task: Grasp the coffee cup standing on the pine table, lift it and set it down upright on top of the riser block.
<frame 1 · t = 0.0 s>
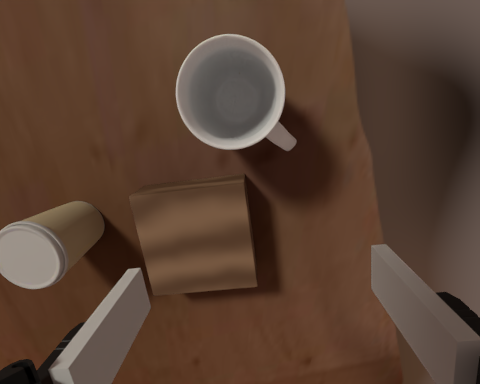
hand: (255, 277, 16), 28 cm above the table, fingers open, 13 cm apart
mug: (243, 105, 40), on the table
coffee cup: (83, 222, 46), on the table
riser: (202, 226, 45), on the table
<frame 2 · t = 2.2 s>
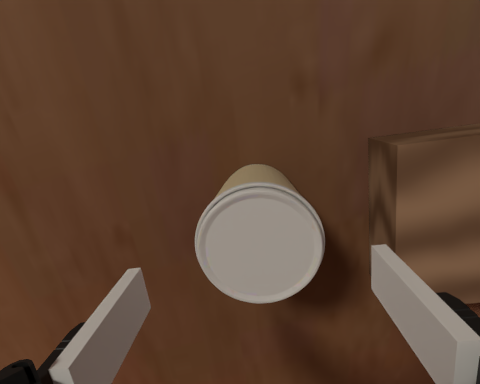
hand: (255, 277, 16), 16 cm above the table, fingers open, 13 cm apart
coffee cup: (257, 197, 31), on the table
riser: (445, 202, 30), on the table
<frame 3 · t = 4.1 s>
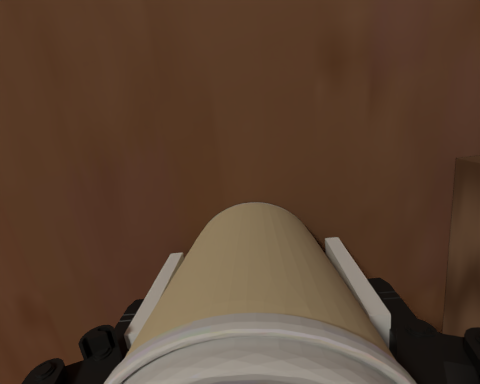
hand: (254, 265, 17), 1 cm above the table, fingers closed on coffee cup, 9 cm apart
coffee cup: (255, 256, 18), on the table, touching gripper
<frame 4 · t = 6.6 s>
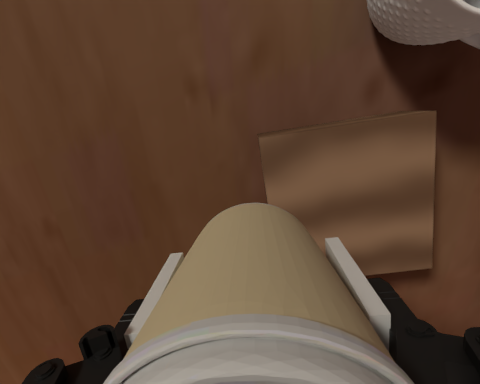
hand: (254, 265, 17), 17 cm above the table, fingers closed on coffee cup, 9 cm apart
mug: (410, 7, 28), on the table
coffee cup: (254, 256, 18), point 16 cm above the table, touching gripper
riser: (333, 190, 33), on the table
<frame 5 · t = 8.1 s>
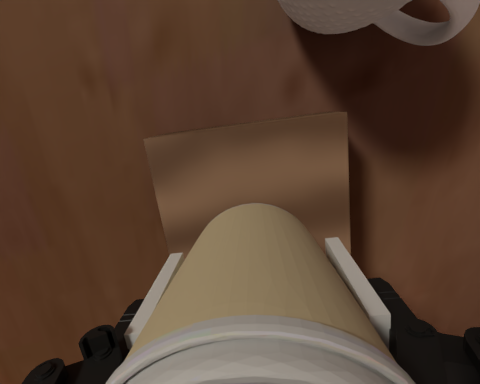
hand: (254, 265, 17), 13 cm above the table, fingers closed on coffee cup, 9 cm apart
coffee cup: (255, 257, 18), point 12 cm above the table, touching gripper
riser: (253, 199, 29), on the table
when the fingers open (8 cm above the table, at t = 9.3 s): coffee cup drops 1 cm, resting on riser.
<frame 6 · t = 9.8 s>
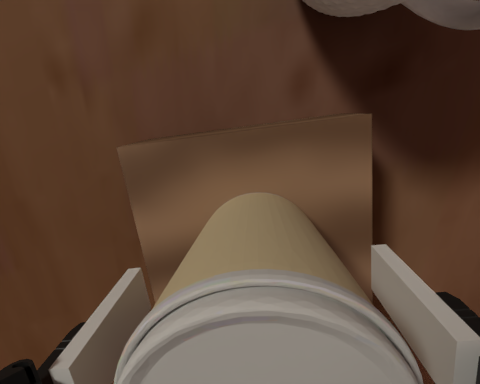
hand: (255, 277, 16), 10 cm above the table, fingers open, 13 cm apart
coffee cup: (258, 243, 19), point 6 cm above the table, touching riser
riser: (254, 216, 25), on the table
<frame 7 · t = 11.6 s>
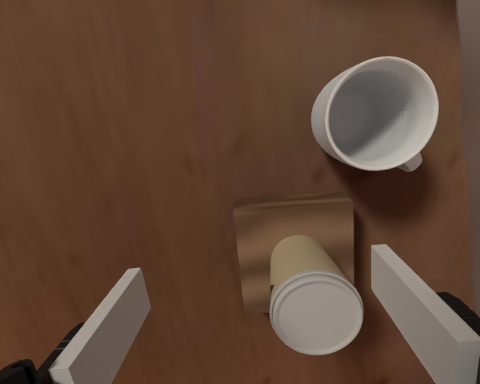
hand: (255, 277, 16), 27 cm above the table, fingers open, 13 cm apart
mug: (344, 123, 40), on the table
coffee cup: (297, 259, 39), point 6 cm above the table, touching riser
riser: (290, 243, 45), on the table
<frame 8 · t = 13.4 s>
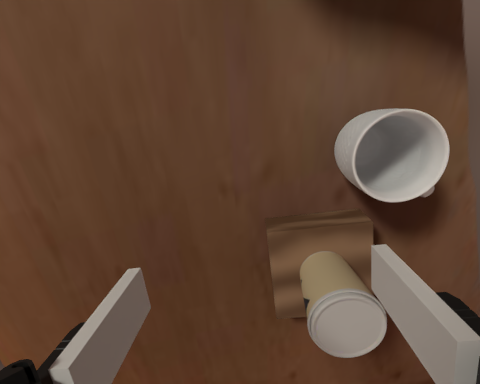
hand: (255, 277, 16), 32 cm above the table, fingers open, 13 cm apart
mug: (363, 149, 45), on the table
coffee cup: (323, 271, 44), point 6 cm above the table, touching riser
riser: (313, 255, 50), on the table
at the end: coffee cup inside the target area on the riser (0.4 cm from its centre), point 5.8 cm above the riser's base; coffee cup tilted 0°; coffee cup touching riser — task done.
